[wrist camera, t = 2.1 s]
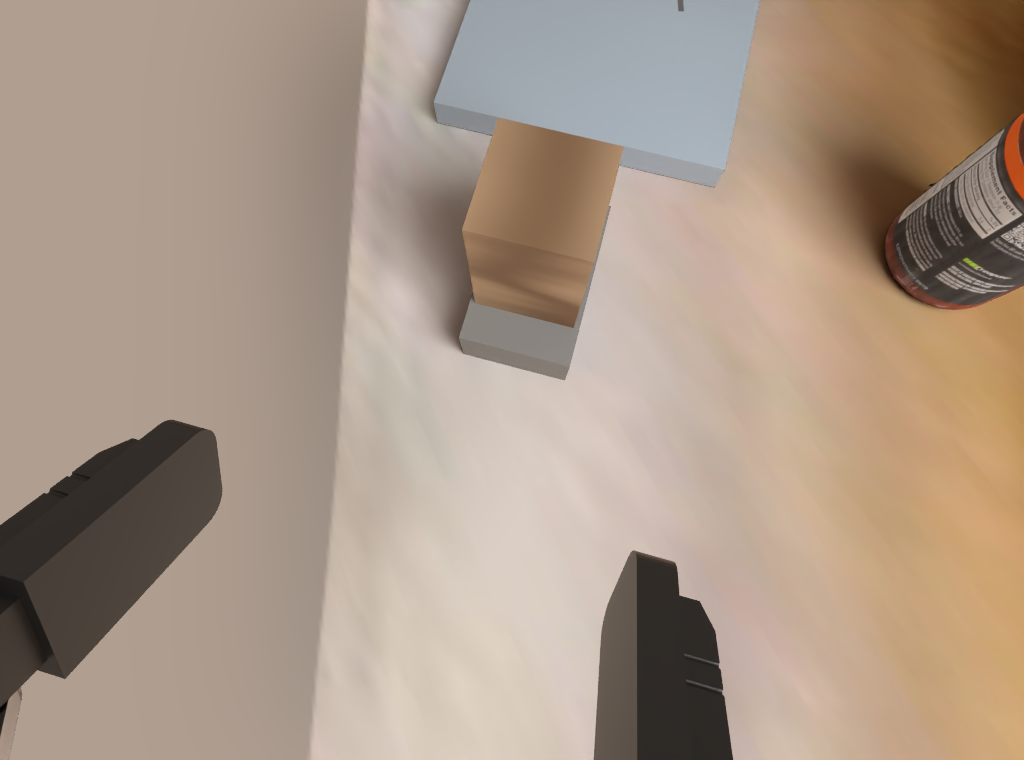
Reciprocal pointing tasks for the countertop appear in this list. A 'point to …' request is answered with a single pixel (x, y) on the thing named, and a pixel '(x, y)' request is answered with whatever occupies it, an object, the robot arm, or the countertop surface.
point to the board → (607, 75)
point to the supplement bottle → (965, 229)
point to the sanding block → (535, 244)
